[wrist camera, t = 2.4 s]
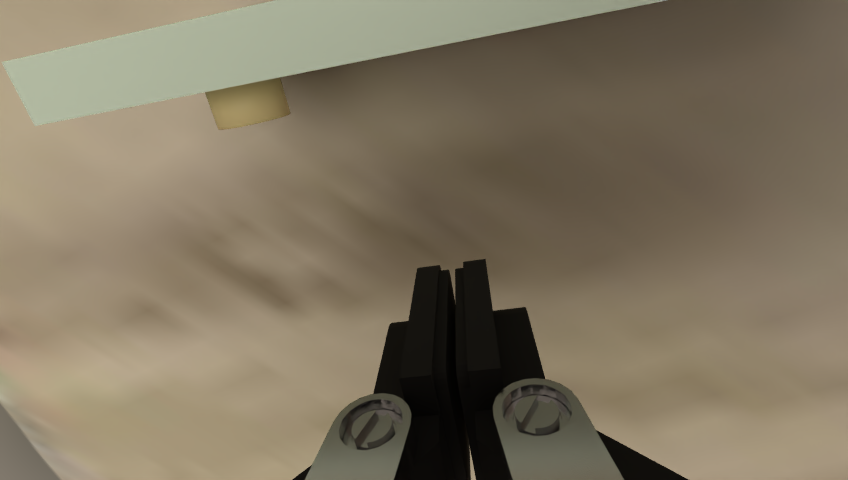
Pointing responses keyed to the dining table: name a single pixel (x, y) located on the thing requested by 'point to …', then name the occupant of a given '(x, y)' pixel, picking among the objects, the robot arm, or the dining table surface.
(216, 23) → the cabinet door
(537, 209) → the dining table surface
